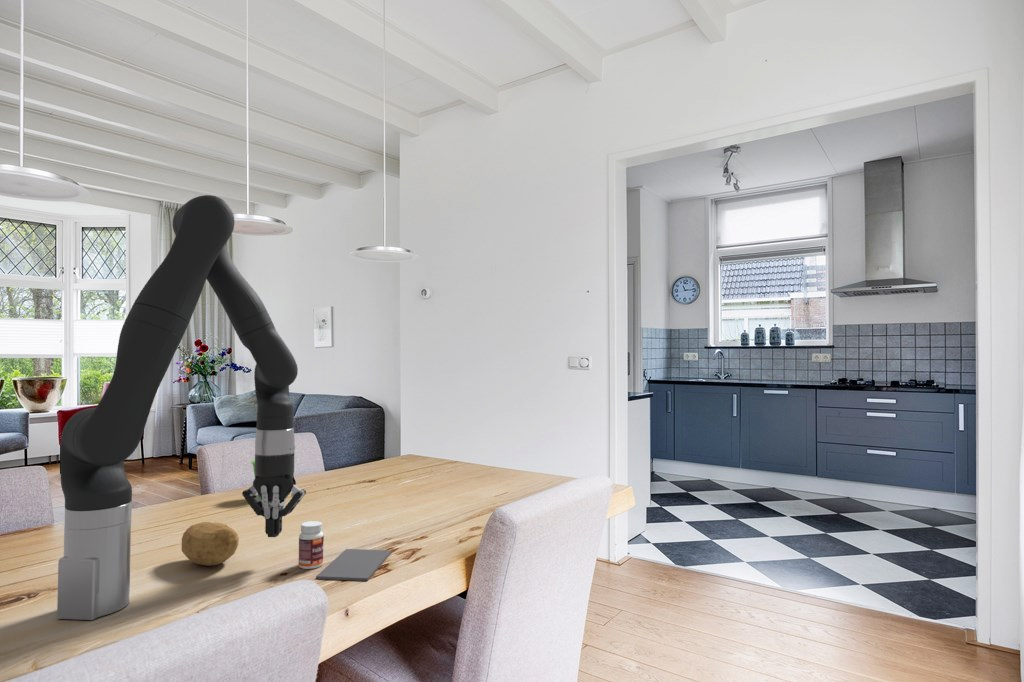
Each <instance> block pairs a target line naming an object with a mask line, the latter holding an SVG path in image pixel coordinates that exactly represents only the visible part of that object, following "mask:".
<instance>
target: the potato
mask: <svg viewBox="0 0 1024 682" xmlns="http://www.w3.org/2000/svg"><path fill="white" fill-rule="evenodd" d="M239 540H240V538H239V535H238V533H237V531H236V530H235V529H234V528H232V527H231V526H229V525H227V524H225V523H221V522H210V521H202V522H199V523H195V524H192V525H190V526H189V527H188V528H187V529H186V530H185V531H184V532H183V534H182V536H181V551H182V554H183V555H185V557H186V558H187V559H188V560H189V561H190V562H191V563H194V564H197V565H202V566H206V567H207V566H209V567H210V566H211V567H212V566H217V565H220V564H223V563H225V562H227V560H229V558H231V557H232V556H233V555H235V553H236V551H237V549H238V546H239Z"/></svg>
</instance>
